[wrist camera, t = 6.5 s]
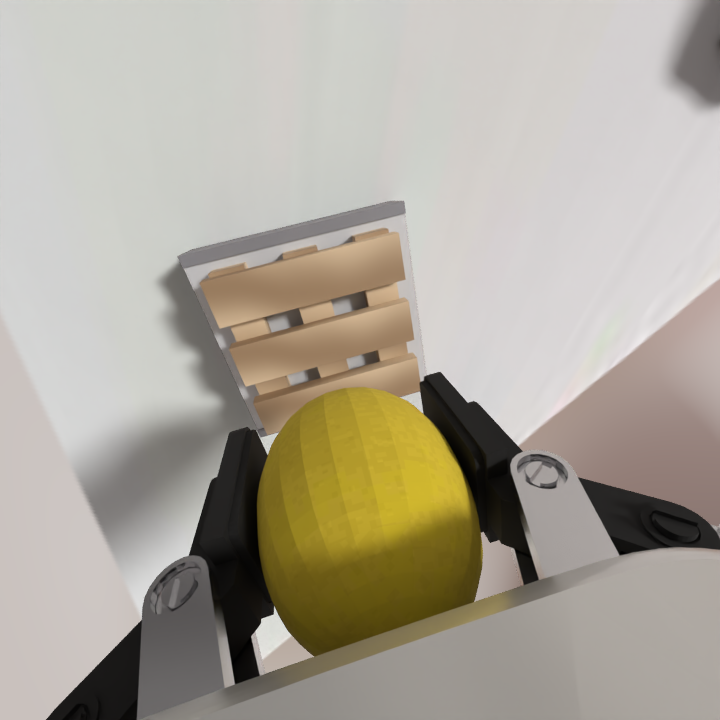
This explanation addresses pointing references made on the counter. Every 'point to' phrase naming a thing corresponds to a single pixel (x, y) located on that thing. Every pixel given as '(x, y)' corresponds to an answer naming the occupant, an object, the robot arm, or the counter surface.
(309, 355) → the pallet
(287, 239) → the dock
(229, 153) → the counter surface
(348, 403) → the lemon
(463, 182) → the counter surface
